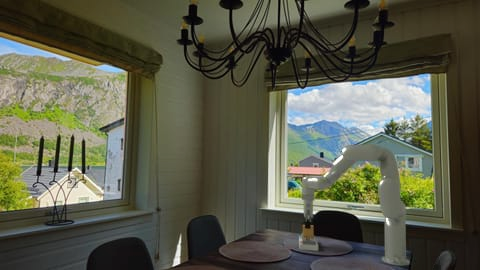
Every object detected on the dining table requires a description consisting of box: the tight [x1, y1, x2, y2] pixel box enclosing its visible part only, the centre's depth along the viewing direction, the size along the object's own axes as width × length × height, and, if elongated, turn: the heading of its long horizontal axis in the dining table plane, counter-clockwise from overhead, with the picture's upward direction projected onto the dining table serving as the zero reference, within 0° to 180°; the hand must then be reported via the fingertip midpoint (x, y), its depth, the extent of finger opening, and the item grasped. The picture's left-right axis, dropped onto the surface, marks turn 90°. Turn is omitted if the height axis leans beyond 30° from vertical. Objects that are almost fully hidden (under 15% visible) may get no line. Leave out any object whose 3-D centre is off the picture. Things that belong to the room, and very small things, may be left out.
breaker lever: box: [302, 224, 314, 240], centre depth 184 cm, size 2×6×8 cm, turn 81°
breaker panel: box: [298, 232, 319, 252], centre depth 184 cm, size 20×10×5 cm, turn 171°
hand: (307, 226), depth 185 cm, fingers open, 9 cm apart
